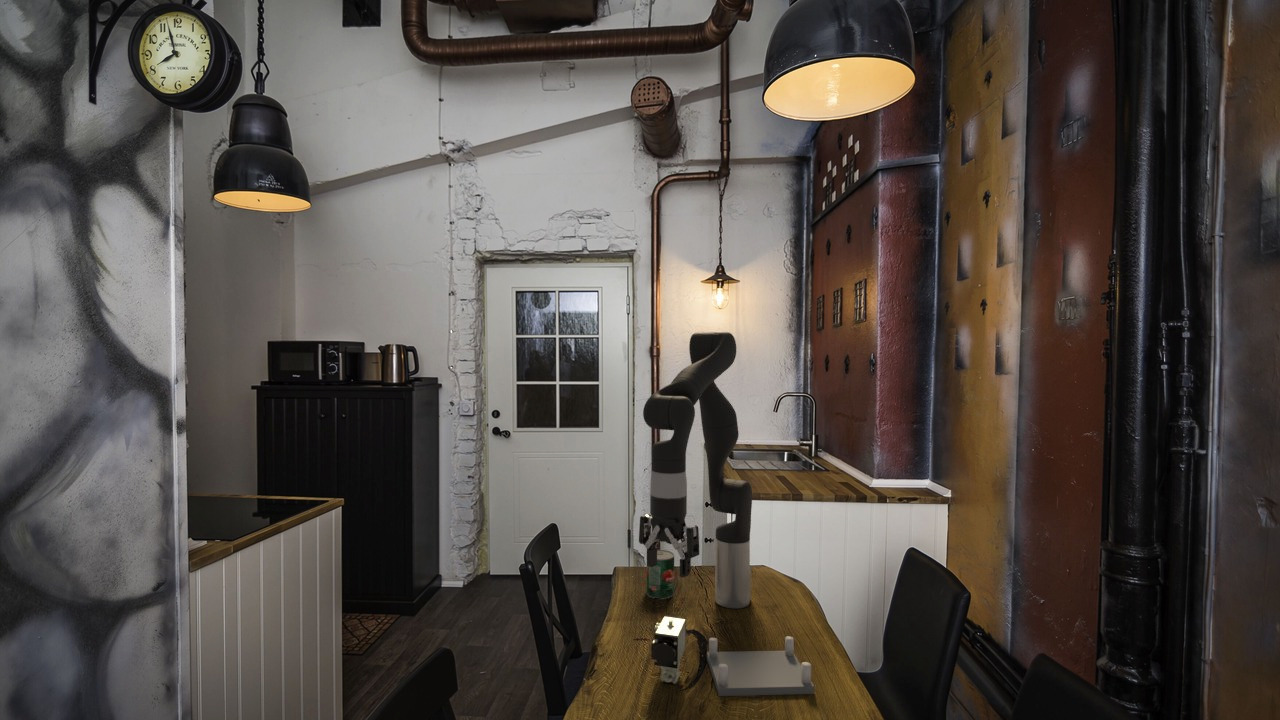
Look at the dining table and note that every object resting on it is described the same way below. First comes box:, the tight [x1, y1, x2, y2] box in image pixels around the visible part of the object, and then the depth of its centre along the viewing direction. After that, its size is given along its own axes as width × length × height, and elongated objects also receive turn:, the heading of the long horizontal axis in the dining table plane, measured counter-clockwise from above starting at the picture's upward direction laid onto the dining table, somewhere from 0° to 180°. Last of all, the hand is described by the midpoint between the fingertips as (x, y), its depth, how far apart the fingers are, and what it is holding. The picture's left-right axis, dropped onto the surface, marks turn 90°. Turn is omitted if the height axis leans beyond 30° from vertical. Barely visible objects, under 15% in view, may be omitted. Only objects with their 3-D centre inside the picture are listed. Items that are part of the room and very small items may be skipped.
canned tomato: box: [645, 549, 675, 600], centre depth 162 cm, size 8×8×11 cm
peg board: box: [706, 635, 815, 697], centre depth 120 cm, size 19×14×5 cm
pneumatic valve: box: [650, 615, 687, 685], centre depth 118 cm, size 6×12×12 cm, turn 164°
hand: (667, 571), depth 119 cm, fingers open, 8 cm apart
